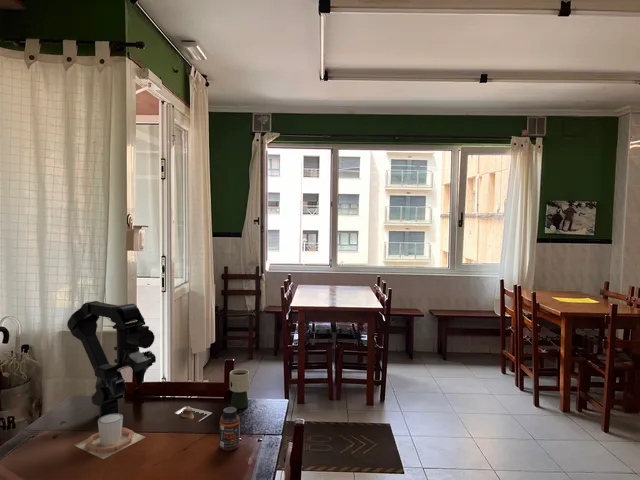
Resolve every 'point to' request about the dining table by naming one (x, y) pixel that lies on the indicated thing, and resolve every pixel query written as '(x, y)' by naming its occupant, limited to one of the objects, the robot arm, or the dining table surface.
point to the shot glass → (110, 429)
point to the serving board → (106, 454)
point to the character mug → (239, 388)
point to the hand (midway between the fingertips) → (127, 390)
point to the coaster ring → (109, 448)
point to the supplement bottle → (229, 429)
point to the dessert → (188, 412)
